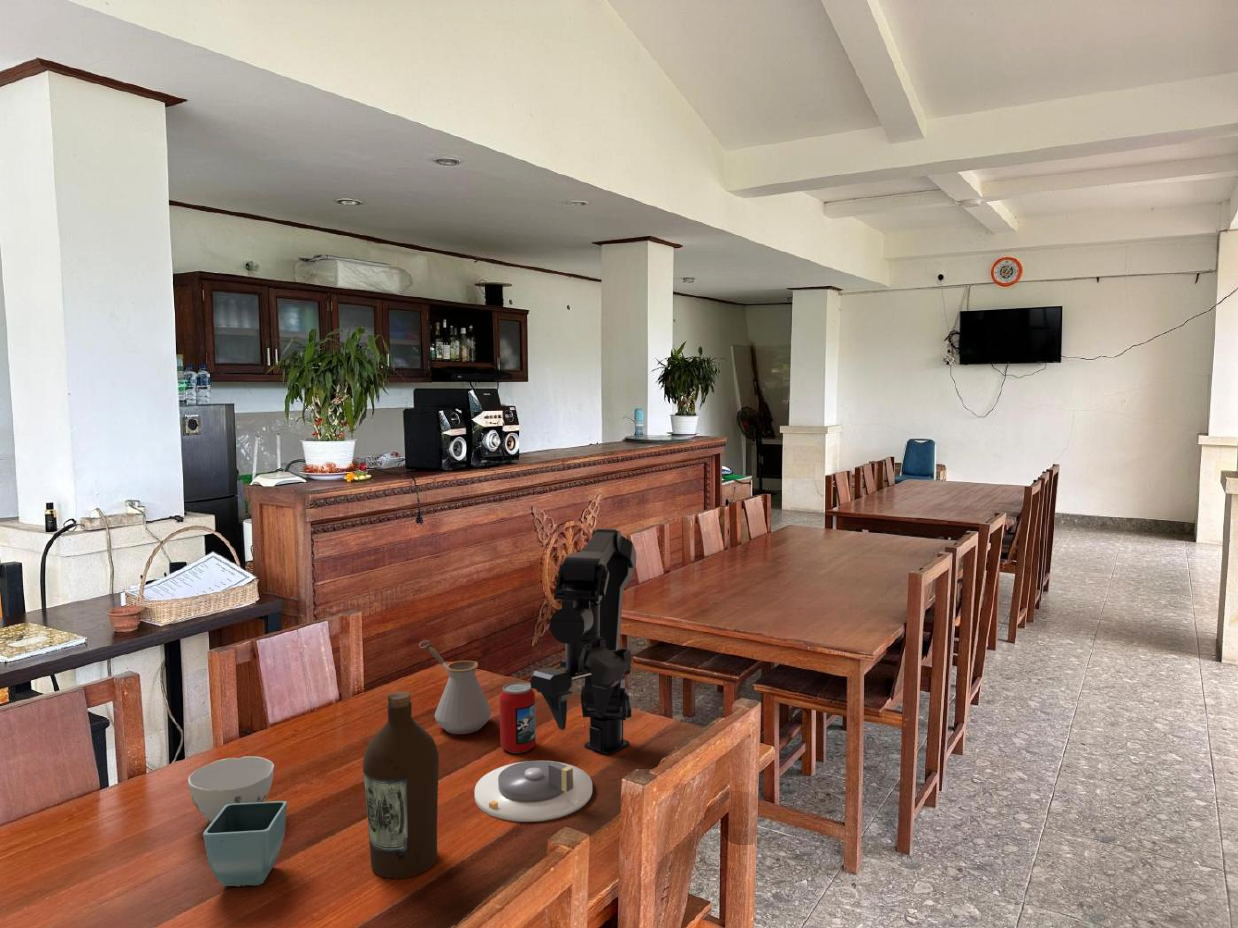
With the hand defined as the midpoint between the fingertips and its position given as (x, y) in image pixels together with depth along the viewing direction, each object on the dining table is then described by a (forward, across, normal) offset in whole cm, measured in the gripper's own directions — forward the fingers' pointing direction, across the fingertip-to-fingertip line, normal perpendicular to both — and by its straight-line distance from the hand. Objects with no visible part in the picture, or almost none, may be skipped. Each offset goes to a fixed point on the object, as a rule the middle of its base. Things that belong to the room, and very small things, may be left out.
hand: (581, 723), depth 143 cm
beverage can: (+11, +6, +23) cm, 26 cm away
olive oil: (+14, -31, +5) cm, 35 cm away
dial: (+11, -5, +6) cm, 13 cm away
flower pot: (+15, -48, +18) cm, 54 cm away
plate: (+12, -4, +7) cm, 15 cm away
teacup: (+14, -42, +38) cm, 58 cm away
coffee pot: (+10, +5, +44) cm, 45 cm away
